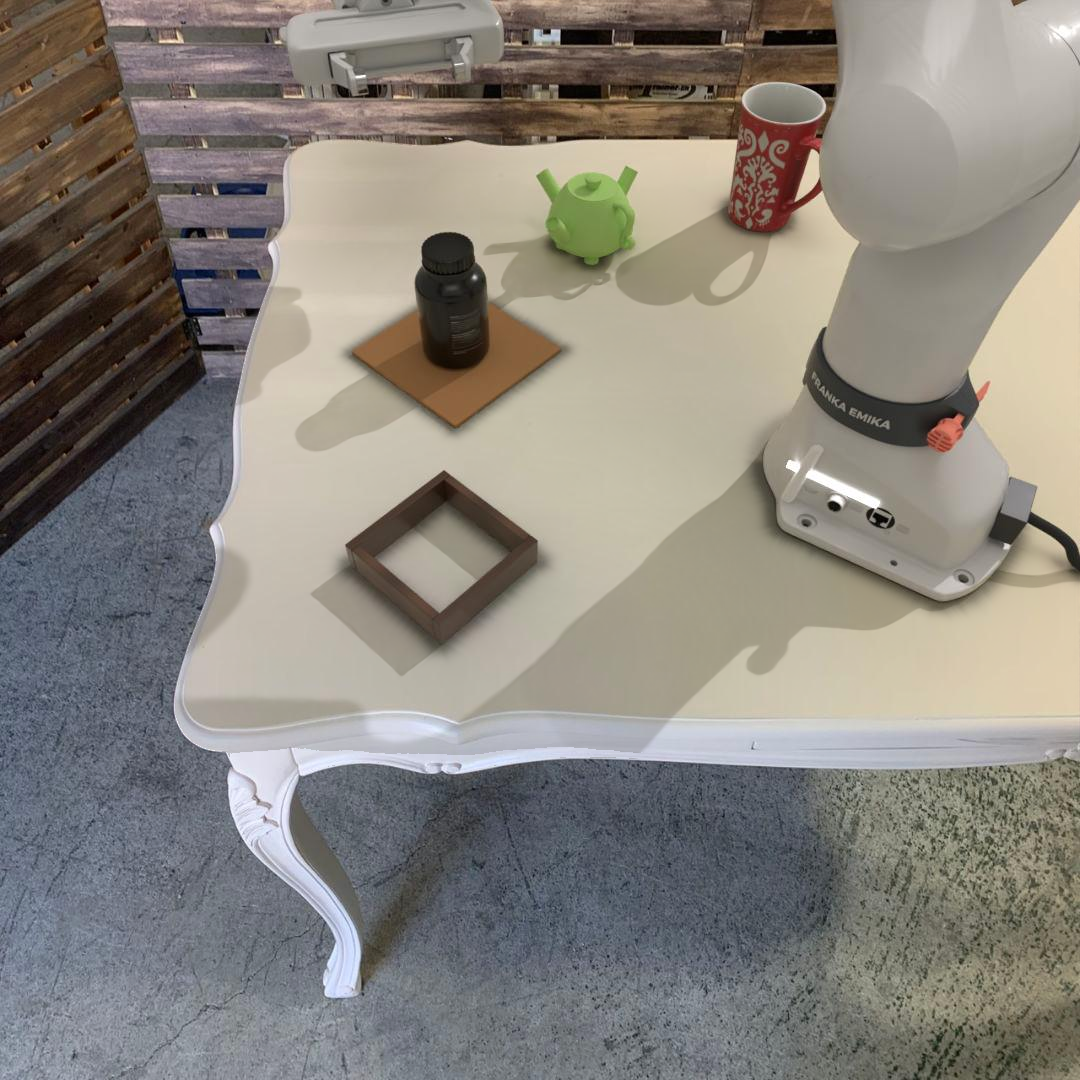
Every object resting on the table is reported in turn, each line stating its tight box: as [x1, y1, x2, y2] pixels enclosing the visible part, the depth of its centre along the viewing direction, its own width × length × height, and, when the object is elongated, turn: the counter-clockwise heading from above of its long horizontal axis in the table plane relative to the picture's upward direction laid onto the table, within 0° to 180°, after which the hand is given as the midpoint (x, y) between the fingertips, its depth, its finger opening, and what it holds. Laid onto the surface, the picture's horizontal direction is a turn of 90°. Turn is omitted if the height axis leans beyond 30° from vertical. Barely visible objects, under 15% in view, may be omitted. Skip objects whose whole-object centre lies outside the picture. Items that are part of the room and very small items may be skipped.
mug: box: [727, 81, 827, 232], centre depth 100 cm, size 13×9×14 cm
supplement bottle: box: [413, 231, 490, 369], centre depth 86 cm, size 7×7×12 cm
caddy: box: [344, 469, 539, 645], centre depth 74 cm, size 11×11×3 cm
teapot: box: [535, 165, 639, 266], centre depth 99 cm, size 11×12×8 cm
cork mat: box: [351, 301, 562, 429], centre depth 91 cm, size 15×15×1 cm
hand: (412, 80), depth 80 cm, fingers open, 8 cm apart
